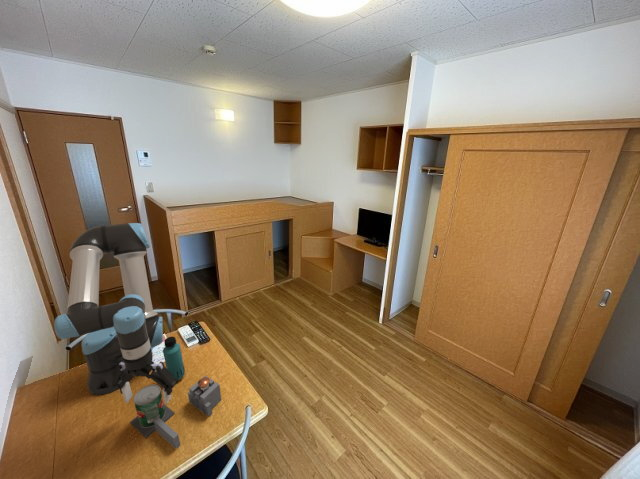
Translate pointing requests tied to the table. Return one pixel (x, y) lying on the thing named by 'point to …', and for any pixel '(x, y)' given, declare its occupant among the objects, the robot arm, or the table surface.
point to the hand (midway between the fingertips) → (148, 399)
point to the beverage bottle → (173, 358)
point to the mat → (148, 431)
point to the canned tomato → (149, 405)
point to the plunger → (204, 384)
